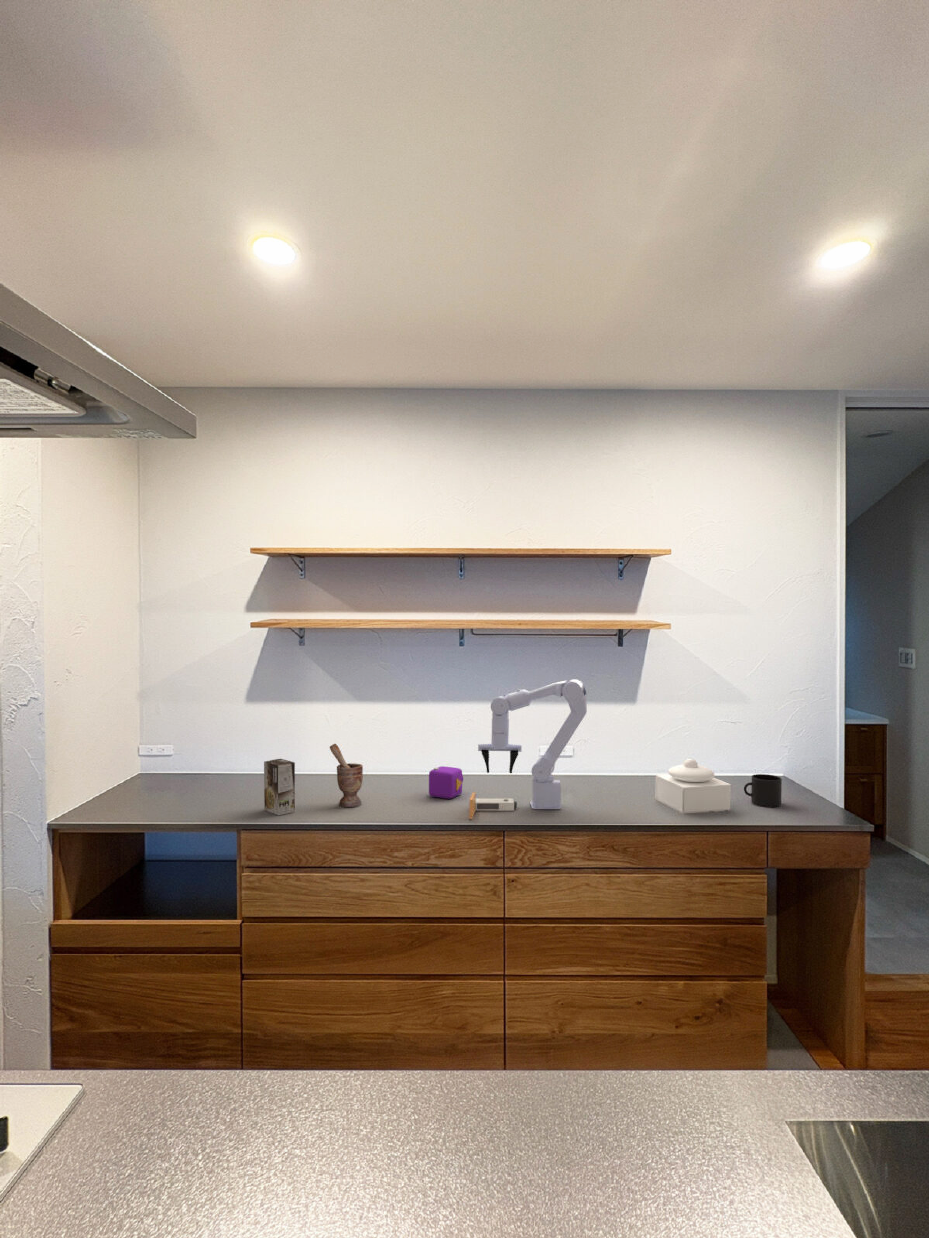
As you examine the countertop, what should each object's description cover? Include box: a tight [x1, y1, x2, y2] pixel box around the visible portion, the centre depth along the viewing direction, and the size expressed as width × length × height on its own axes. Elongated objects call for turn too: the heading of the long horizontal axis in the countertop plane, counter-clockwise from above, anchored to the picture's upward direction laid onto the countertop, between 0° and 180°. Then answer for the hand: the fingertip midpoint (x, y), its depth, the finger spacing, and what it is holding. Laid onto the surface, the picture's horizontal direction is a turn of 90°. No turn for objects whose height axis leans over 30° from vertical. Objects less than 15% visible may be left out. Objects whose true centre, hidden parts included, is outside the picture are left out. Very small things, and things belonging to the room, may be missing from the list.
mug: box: [743, 773, 783, 808], centre depth 248 cm, size 9×12×9 cm
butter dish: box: [654, 758, 732, 815], centre depth 246 cm, size 18×18×16 cm
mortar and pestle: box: [329, 743, 364, 808], centre depth 245 cm, size 12×9×20 cm
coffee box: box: [263, 758, 296, 816], centre depth 237 cm, size 9×6×16 cm
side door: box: [468, 791, 477, 820], centre depth 233 cm, size 10×1×6 cm, turn 172°
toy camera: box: [428, 766, 464, 800], centre depth 258 cm, size 11×14×10 cm
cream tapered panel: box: [475, 798, 518, 812], centre depth 241 cm, size 14×5×3 cm, turn 91°
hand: (499, 772), depth 247 cm, fingers open, 7 cm apart
